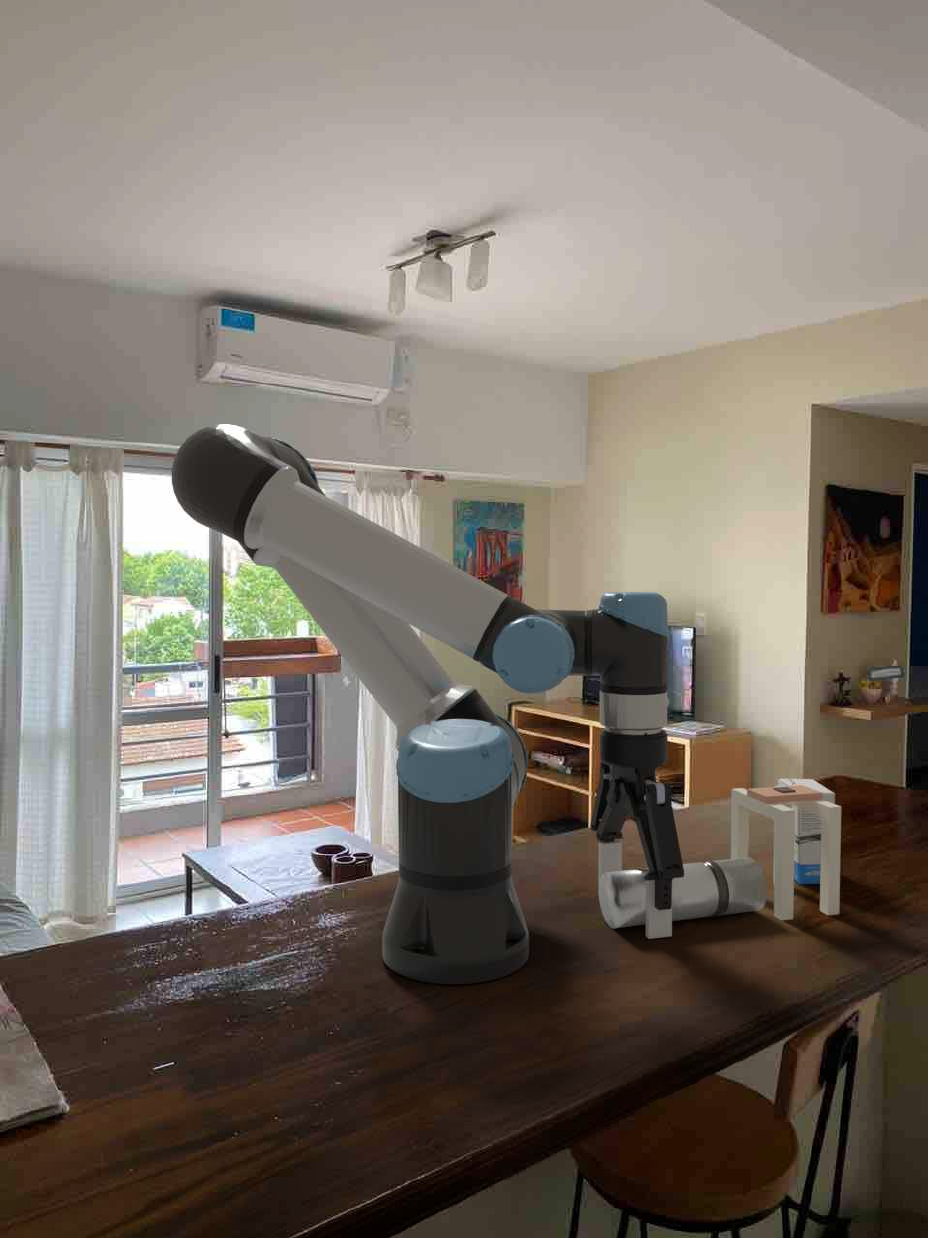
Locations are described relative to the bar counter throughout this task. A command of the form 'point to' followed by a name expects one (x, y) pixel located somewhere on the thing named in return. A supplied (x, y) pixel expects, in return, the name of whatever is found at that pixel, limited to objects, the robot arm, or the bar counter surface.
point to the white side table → (790, 839)
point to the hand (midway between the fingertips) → (633, 915)
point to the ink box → (807, 835)
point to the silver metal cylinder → (686, 892)
